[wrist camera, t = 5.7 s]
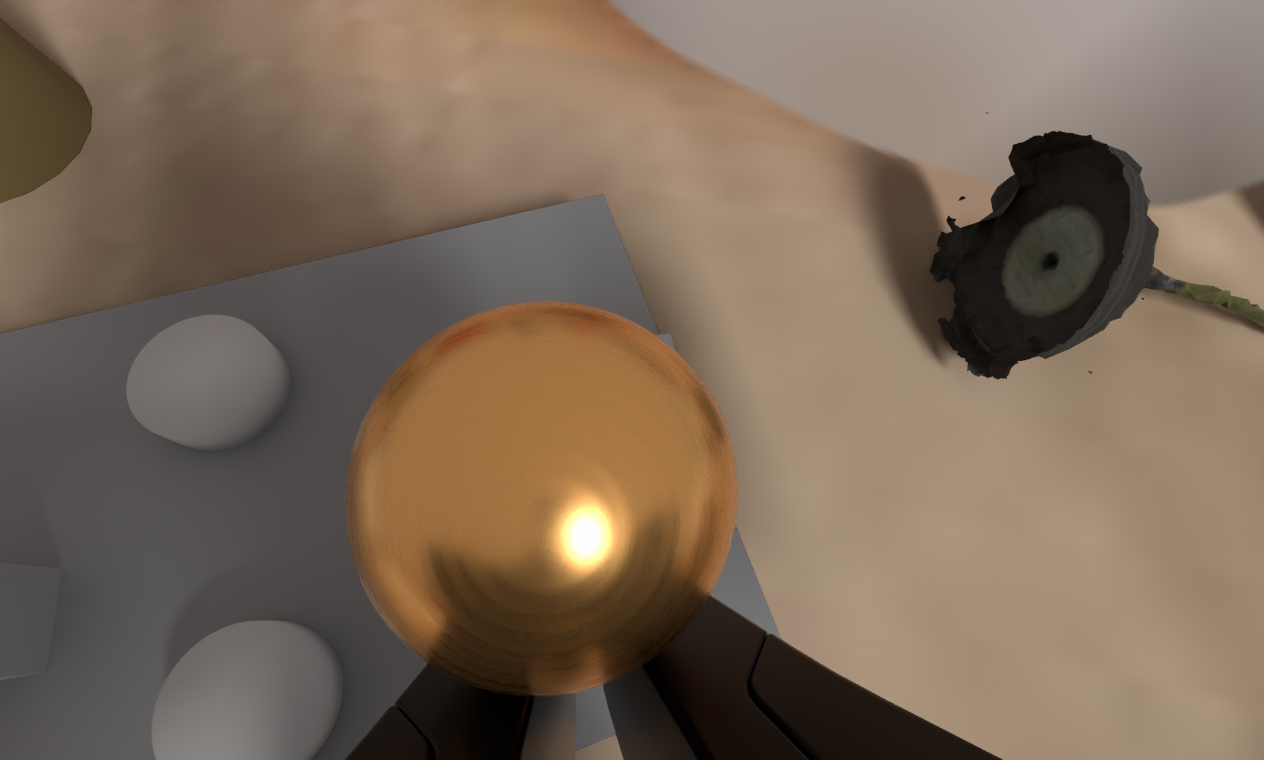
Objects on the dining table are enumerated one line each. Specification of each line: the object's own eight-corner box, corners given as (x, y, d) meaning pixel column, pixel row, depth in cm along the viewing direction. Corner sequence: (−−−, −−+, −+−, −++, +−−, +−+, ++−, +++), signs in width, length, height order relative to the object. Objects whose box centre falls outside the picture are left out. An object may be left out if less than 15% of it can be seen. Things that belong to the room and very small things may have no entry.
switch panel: (758, 655, 16) (846, 671, 11) (-235, 1063, 12) (-880, 1414, 6) (600, 243, 20) (608, 113, 15) (-172, 435, 16) (-533, 347, 11)
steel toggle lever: (617, 468, 15) (829, 741, 4) (491, 486, 14) (303, 856, 3) (602, 345, 15) (771, 246, 4) (475, 359, 14) (230, 298, 3)
